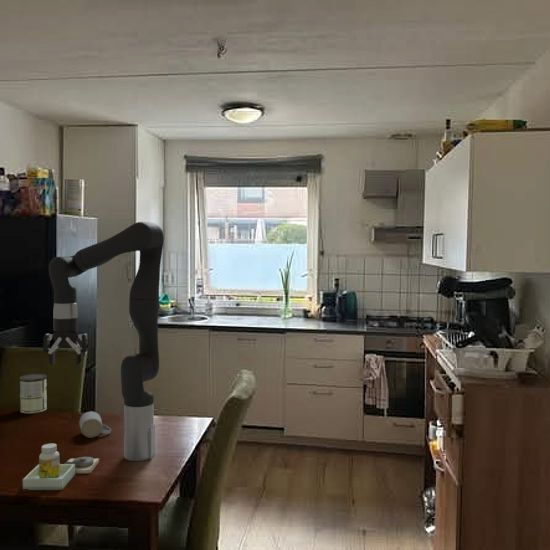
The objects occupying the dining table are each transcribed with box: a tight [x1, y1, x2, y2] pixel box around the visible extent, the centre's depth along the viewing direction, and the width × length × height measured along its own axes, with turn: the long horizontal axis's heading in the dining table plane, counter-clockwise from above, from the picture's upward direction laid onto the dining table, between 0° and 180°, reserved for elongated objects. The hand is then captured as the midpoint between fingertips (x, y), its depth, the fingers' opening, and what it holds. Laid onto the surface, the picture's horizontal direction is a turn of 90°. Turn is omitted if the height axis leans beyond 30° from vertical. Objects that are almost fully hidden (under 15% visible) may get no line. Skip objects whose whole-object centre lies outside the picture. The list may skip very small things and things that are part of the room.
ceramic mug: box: [78, 411, 112, 439], centre depth 196 cm, size 11×8×8 cm
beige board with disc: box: [64, 456, 100, 474], centre depth 166 cm, size 9×9×3 cm
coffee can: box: [19, 373, 48, 414], centre depth 225 cm, size 10×10×14 cm
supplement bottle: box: [38, 443, 61, 478], centre depth 155 cm, size 5×5×10 cm
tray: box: [22, 463, 76, 491], centre depth 155 cm, size 11×11×3 cm
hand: (66, 364), depth 181 cm, fingers open, 8 cm apart
